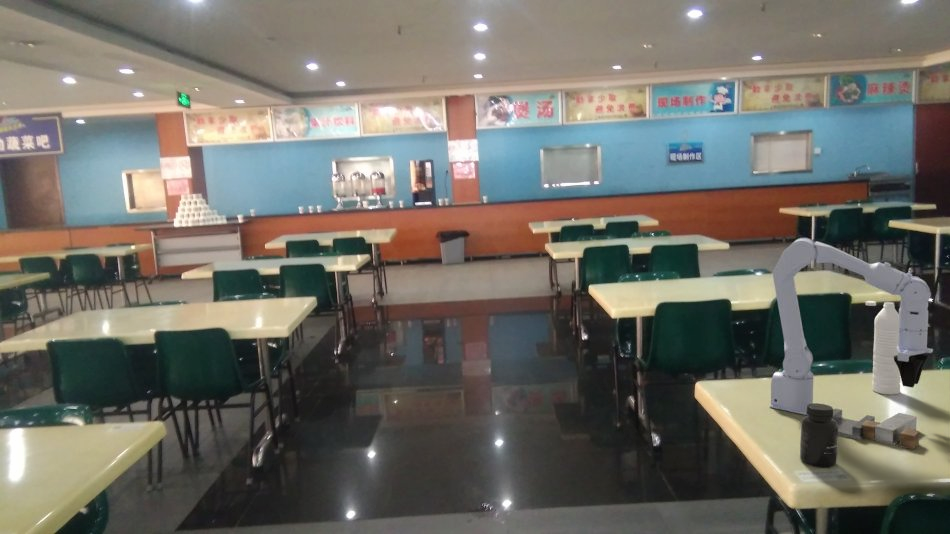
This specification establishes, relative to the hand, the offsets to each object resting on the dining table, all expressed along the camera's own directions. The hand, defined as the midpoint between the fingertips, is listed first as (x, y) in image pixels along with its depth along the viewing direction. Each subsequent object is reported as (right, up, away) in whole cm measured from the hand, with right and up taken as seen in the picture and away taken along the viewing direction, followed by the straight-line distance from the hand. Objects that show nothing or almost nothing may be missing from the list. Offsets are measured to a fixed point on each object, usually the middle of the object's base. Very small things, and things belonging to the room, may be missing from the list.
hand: (910, 384), depth 151 cm
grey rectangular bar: (-7, -11, -6) cm, 14 cm away
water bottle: (+9, -7, +25) cm, 27 cm away
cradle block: (-16, -10, -1) cm, 19 cm away
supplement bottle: (-32, -13, -18) cm, 39 cm away
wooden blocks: (-11, -11, -9) cm, 18 cm away
